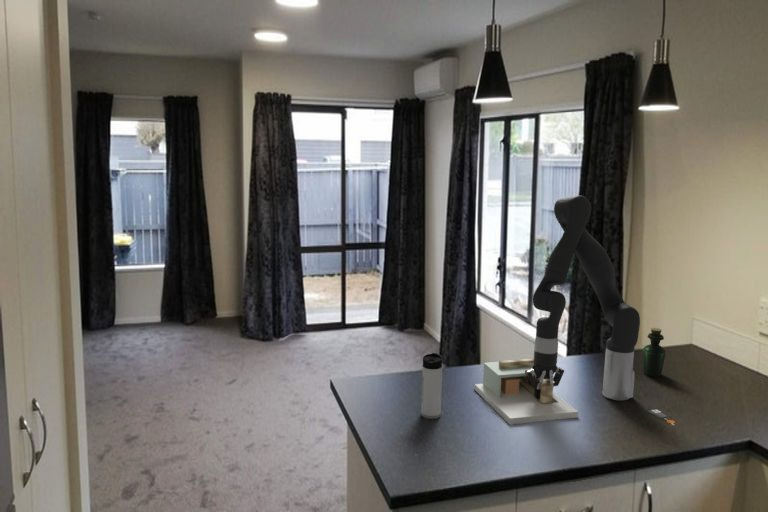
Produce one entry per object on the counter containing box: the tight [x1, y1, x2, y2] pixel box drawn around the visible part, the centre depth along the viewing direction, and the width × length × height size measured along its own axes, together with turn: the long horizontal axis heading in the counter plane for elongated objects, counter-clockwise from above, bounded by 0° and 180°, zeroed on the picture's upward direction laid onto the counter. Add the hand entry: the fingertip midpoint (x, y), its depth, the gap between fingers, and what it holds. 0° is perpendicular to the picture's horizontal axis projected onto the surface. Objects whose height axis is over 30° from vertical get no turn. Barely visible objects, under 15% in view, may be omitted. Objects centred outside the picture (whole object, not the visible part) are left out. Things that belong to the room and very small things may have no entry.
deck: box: [473, 361, 579, 425], centre depth 208 cm, size 24×29×10 cm
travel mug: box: [421, 352, 443, 420], centre depth 196 cm, size 6×7×20 cm
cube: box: [501, 377, 519, 394], centre depth 213 cm, size 5×5×5 cm
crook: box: [517, 376, 554, 404], centre depth 210 cm, size 9×19×6 cm, turn 14°
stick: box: [498, 357, 534, 369], centre depth 215 cm, size 14×2×2 cm, turn 104°
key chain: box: [648, 409, 675, 426], centre depth 197 cm, size 13×4×2 cm, turn 20°
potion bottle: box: [642, 327, 667, 378], centre depth 236 cm, size 8×8×18 cm
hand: (542, 397), depth 205 cm, fingers closed on crook, 3 cm apart
